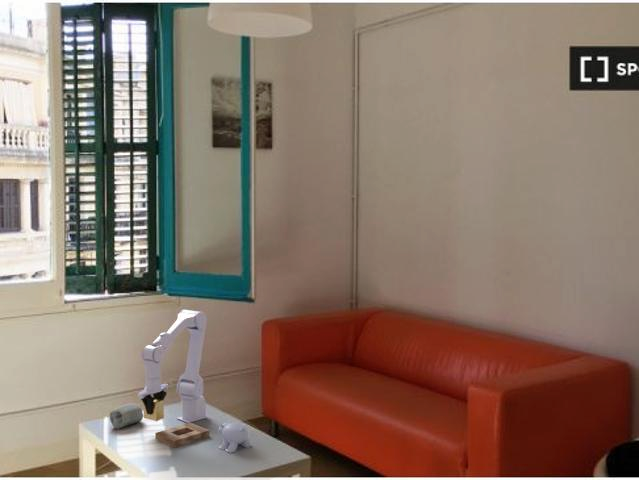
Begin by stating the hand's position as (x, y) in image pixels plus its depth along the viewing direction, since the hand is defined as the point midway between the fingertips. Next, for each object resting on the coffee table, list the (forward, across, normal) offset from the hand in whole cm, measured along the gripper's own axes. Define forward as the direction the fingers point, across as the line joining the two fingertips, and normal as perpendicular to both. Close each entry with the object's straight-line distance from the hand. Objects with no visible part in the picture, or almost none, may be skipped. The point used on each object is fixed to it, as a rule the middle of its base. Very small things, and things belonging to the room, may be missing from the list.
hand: (153, 412), depth 289 cm
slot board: (+9, -3, +11) cm, 15 cm away
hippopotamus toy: (+9, -7, +32) cm, 34 cm away
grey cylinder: (+9, -3, -17) cm, 20 cm away
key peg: (+2, 0, 0) cm, 2 cm away
